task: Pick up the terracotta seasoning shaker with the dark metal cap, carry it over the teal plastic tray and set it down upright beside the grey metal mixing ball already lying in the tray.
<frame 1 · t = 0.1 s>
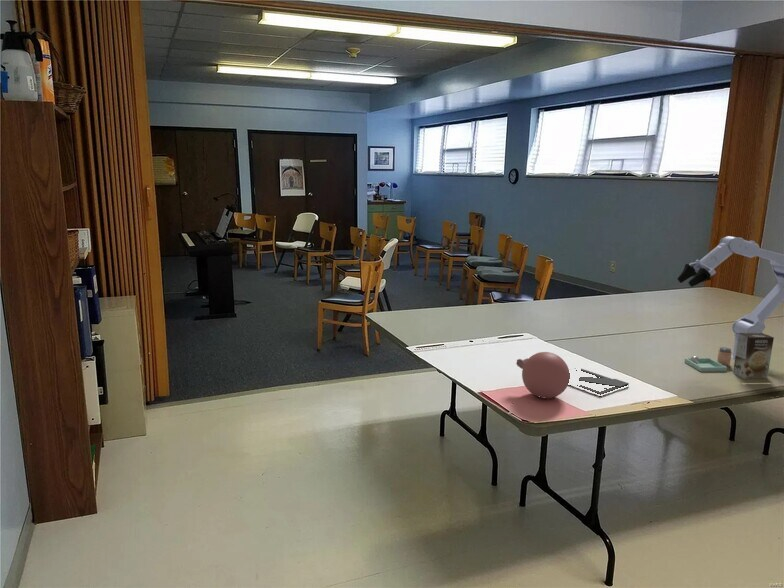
hand: (684, 282, 214), 32 cm above the table, tool tilted 50°, fingers open, 7 cm apart
coffee box: (749, 377, 203), on the table
tray: (704, 367, 212), on the table
balloon: (538, 394, 187), on the table
picture frame: (588, 384, 197), on the table
ball: (694, 364, 215), resting on tray
shaker: (723, 365, 215), on the table
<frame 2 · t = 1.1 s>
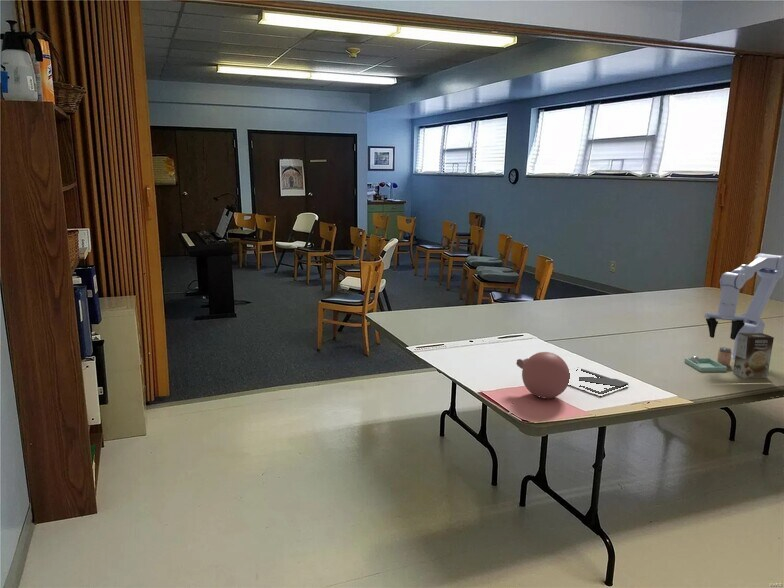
hand: (722, 338, 212), 11 cm above the table, tool pointing down, fingers open, 7 cm apart
nothing on the table moved.
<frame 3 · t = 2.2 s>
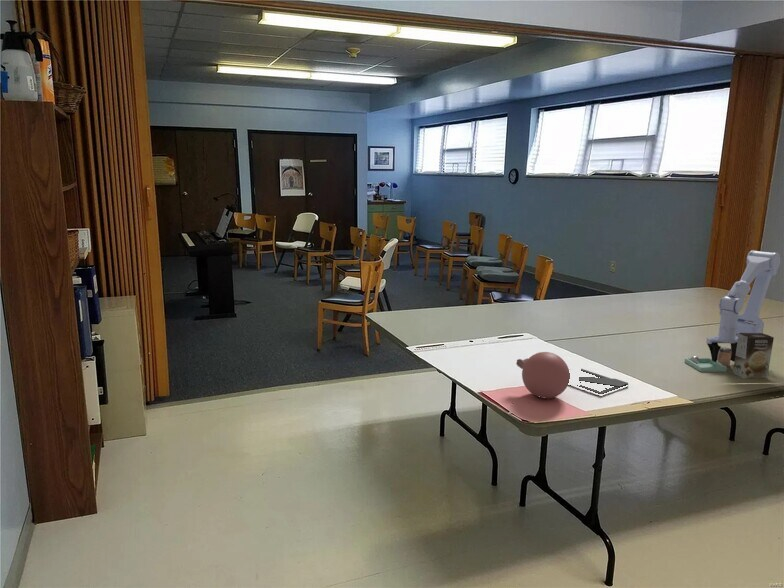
hand: (723, 360, 214), 2 cm above the table, tool pointing down, fingers open, 7 cm apart
nothing on the table moved.
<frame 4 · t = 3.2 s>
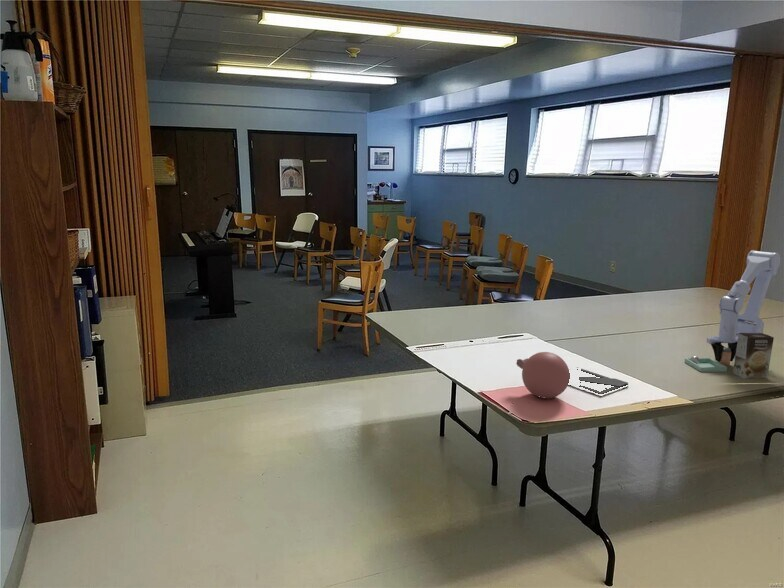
hand: (723, 360, 214), 2 cm above the table, tool pointing down, fingers closed on shaker, 4 cm apart
shaker: (723, 365, 215), on the table, touching gripper
everything else where it was.
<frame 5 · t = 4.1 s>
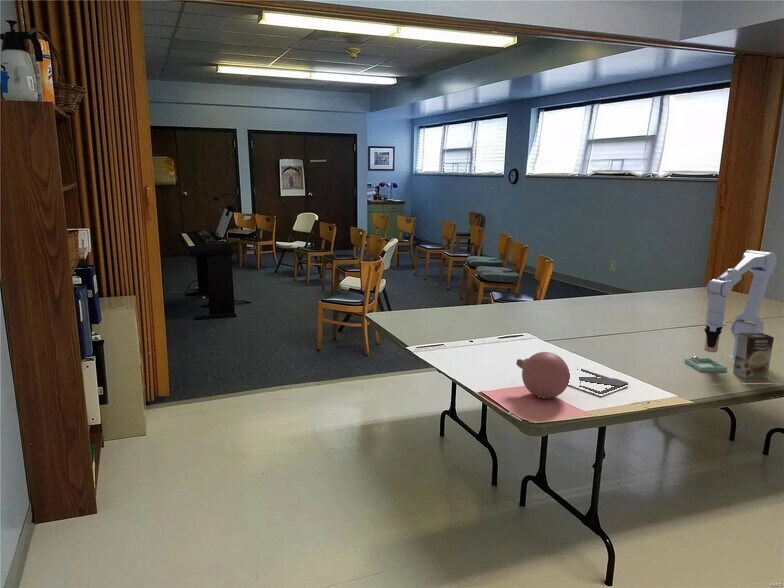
hand: (711, 345, 210), 9 cm above the table, tool pointing down, fingers closed on shaker, 4 cm apart
shaker: (710, 350, 211), point 7 cm above the table, touching gripper
everything else where it was.
when the fingers open (4 cm above the table, at t = 5.6 s): shaker drops 1 cm, resting on tray.
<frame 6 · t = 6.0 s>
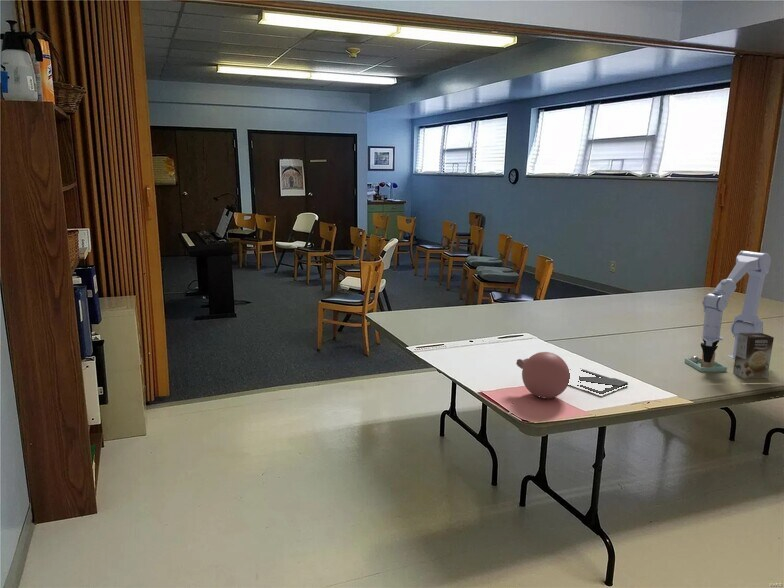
hand: (708, 359, 211), 4 cm above the table, tool pointing down, fingers open, 7 cm apart
shaker: (707, 366, 212), point 1 cm above the table, touching tray
everything else where it was.
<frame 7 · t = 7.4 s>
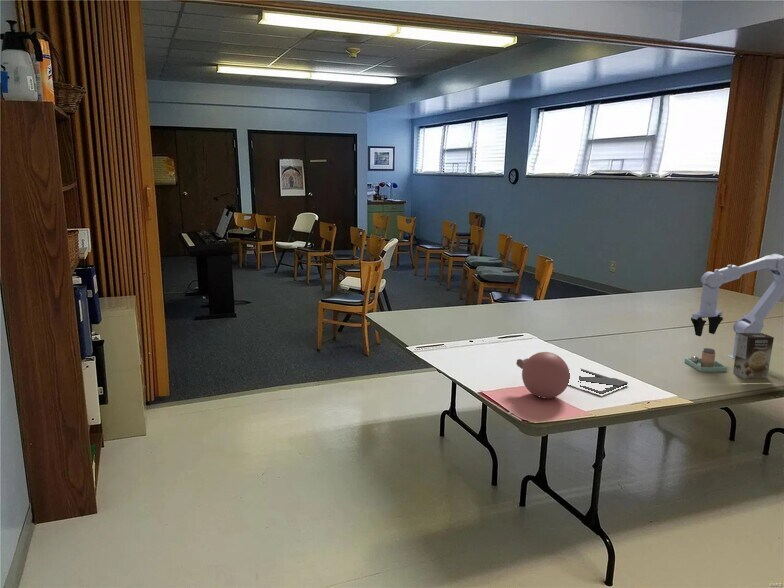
hand: (705, 334, 222), 10 cm above the table, tool pointing down, fingers open, 7 cm apart
nothing on the table moved.
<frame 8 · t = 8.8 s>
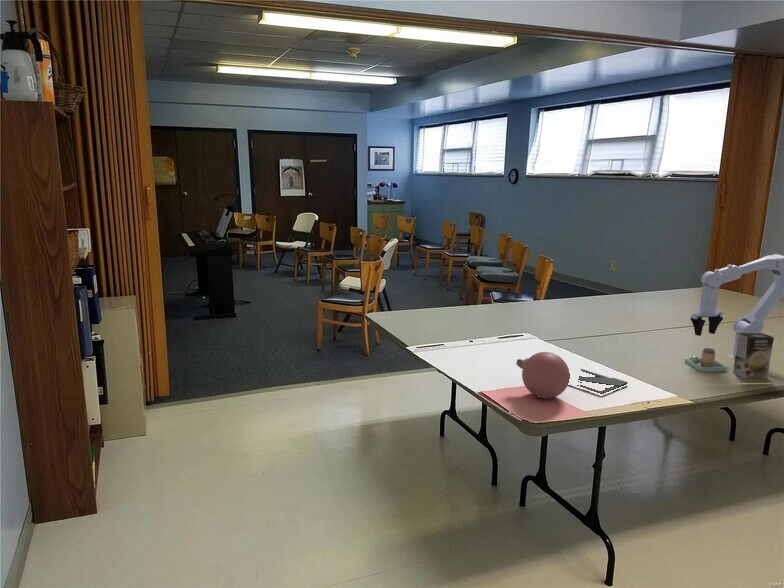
hand: (704, 334, 222), 10 cm above the table, tool pointing down, fingers open, 7 cm apart
nothing on the table moved.
at the end: shaker inside the target area on the tray (0.7 cm from its centre), point 0.5 cm above the tray's base; shaker tilted 0°; the gripper is holding nothing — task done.
